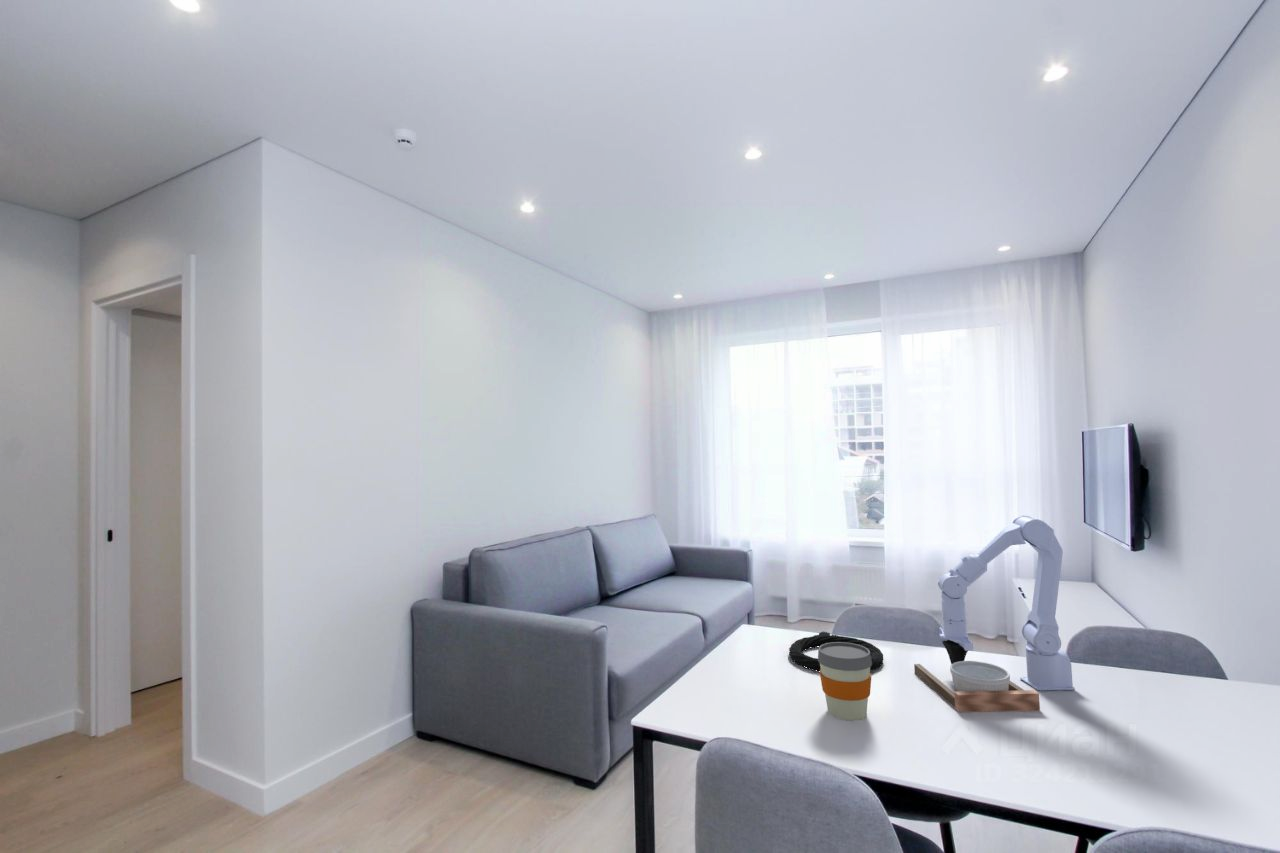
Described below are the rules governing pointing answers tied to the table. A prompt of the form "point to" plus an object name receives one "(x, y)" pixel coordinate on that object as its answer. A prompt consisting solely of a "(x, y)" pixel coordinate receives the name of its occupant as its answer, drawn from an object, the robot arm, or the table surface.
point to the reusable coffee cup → (845, 679)
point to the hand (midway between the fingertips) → (957, 668)
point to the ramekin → (979, 676)
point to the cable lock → (827, 638)
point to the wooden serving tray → (983, 696)
